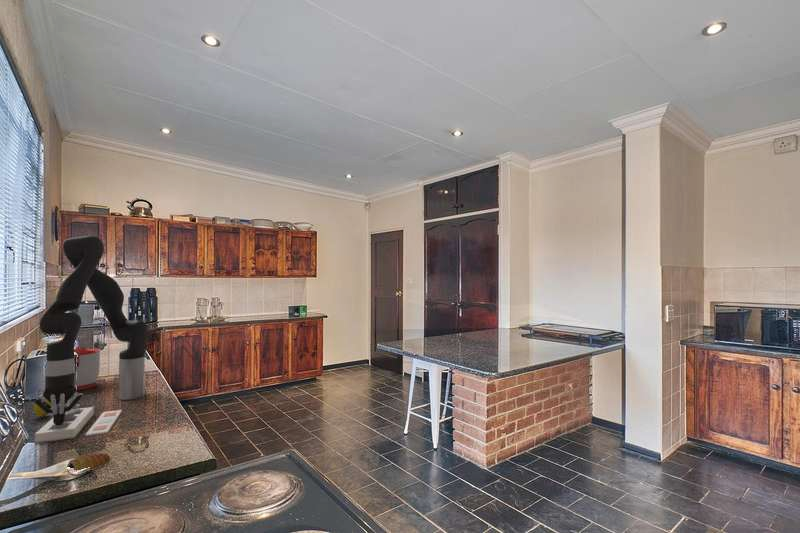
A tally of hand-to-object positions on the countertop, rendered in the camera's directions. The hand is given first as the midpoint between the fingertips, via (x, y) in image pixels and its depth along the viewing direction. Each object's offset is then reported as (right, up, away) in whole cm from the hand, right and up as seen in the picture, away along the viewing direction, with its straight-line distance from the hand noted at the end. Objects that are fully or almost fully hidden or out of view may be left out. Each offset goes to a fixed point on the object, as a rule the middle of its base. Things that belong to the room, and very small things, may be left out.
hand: (59, 424), depth 132 cm
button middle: (-3, -2, +6) cm, 7 cm away
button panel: (-3, -4, +6) cm, 8 cm away
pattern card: (+7, -4, +11) cm, 14 cm away
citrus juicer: (-37, -5, +52) cm, 64 cm away
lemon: (-20, -4, +17) cm, 27 cm away
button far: (-6, -3, +13) cm, 14 cm away
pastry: (+26, -4, -22) cm, 34 cm away
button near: (0, -3, 0) cm, 3 cm away
